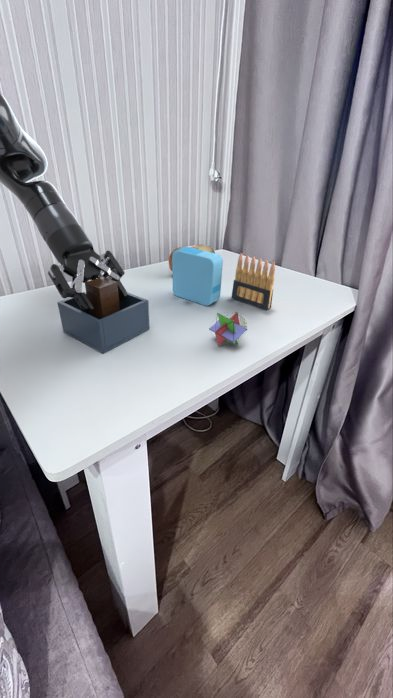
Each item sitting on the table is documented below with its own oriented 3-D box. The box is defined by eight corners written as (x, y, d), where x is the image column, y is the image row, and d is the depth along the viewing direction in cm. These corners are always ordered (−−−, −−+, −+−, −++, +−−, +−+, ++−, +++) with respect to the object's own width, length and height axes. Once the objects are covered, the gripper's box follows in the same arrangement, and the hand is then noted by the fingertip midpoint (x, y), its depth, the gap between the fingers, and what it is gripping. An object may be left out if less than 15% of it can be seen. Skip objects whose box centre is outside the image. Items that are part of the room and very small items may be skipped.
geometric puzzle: (222, 349, 61) (242, 311, 61) (196, 335, 66) (215, 299, 65) (239, 357, 67) (258, 322, 67) (215, 343, 71) (232, 310, 71)
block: (91, 327, 69) (84, 282, 64) (107, 320, 72) (102, 276, 67) (105, 334, 67) (99, 288, 62) (121, 326, 70) (117, 282, 65)
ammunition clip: (271, 308, 83) (279, 260, 76) (267, 310, 81) (275, 262, 75) (234, 296, 88) (239, 251, 81) (231, 298, 87) (235, 252, 80)
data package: (220, 301, 85) (223, 255, 78) (210, 307, 81) (213, 259, 75) (182, 289, 90) (183, 245, 84) (172, 294, 87) (172, 249, 80)
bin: (102, 354, 63) (98, 322, 59) (63, 332, 69) (57, 302, 65) (149, 329, 71) (148, 300, 68) (110, 311, 77) (107, 284, 74)
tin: (171, 279, 97) (171, 250, 92) (167, 275, 99) (166, 247, 94) (215, 272, 103) (217, 244, 98) (210, 268, 105) (211, 241, 101)
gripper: (34, 228, 58) (84, 308, 58) (100, 217, 67) (143, 286, 68) (25, 252, 63) (71, 325, 64) (87, 239, 73) (127, 302, 73)
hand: (108, 304), depth 66 cm, fingers open, 8 cm apart
